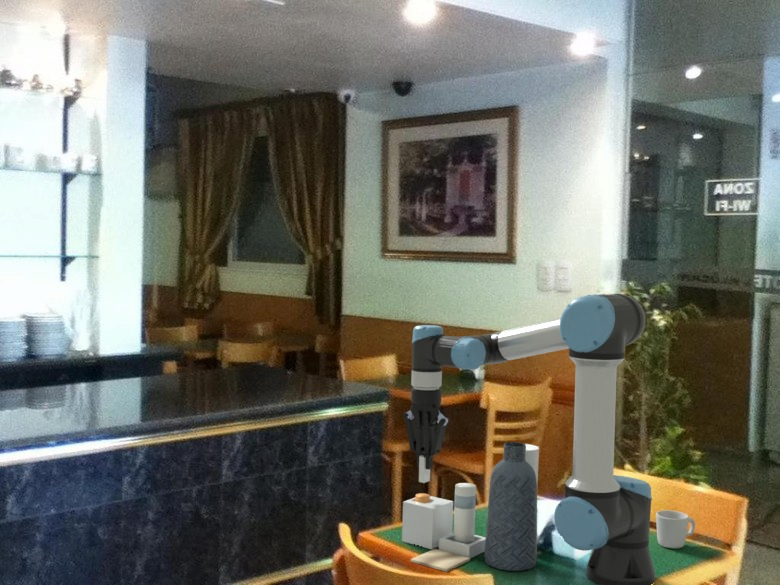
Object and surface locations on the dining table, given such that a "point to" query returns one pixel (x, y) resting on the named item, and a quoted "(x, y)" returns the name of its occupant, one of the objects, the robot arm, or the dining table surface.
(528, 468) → the vase
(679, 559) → the dining table surface
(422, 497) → the brown egg
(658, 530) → the cup
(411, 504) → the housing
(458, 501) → the cylinder
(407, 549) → the dining table surface
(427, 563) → the coaster
